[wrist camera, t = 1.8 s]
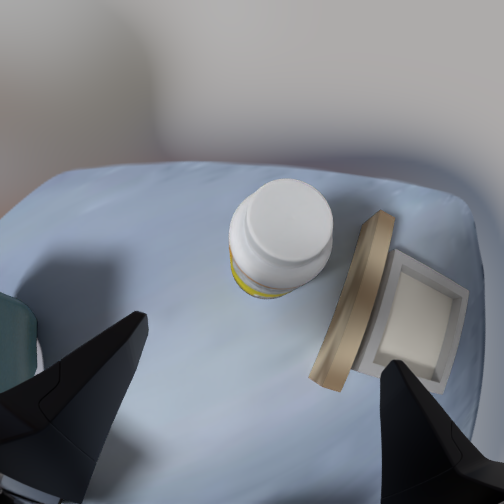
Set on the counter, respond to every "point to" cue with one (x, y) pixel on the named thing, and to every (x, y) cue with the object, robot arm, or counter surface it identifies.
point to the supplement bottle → (280, 238)
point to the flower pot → (16, 342)
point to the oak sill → (354, 303)
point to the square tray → (413, 322)
